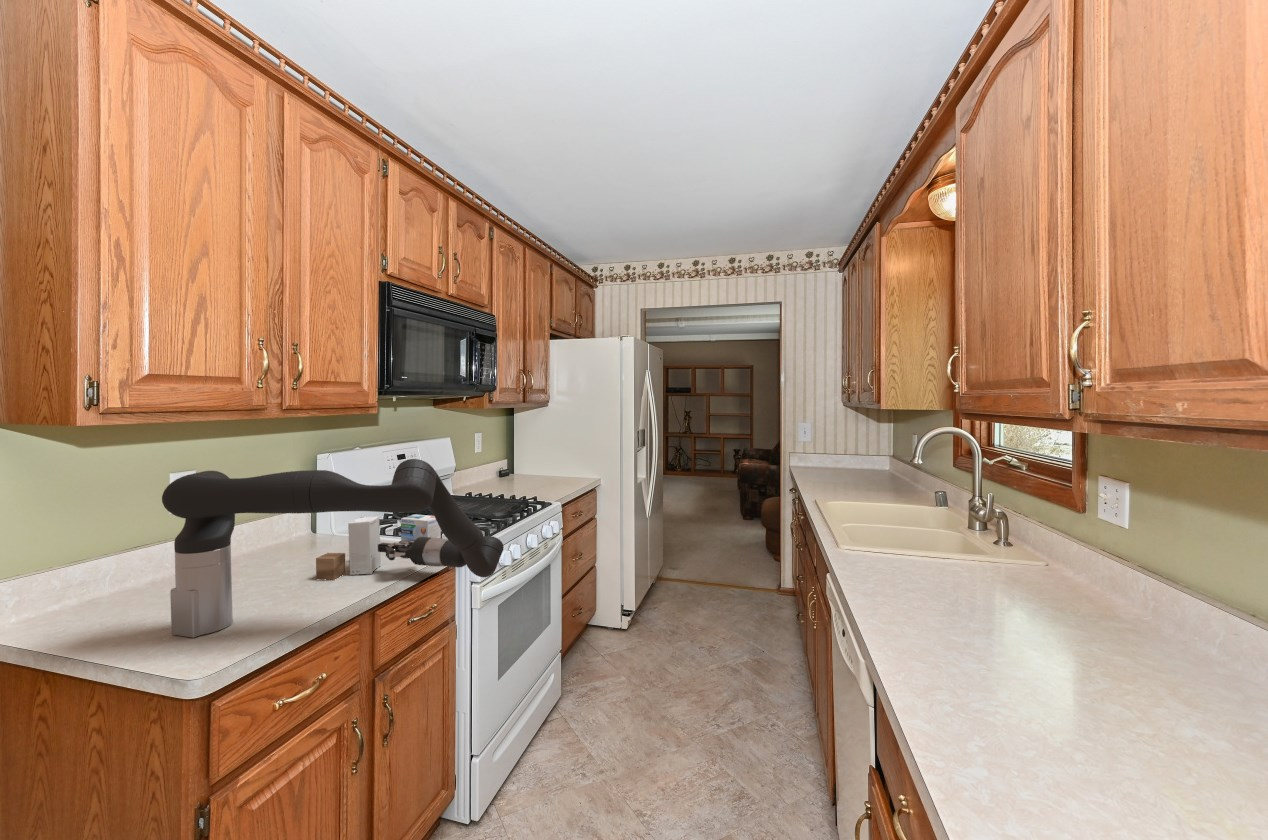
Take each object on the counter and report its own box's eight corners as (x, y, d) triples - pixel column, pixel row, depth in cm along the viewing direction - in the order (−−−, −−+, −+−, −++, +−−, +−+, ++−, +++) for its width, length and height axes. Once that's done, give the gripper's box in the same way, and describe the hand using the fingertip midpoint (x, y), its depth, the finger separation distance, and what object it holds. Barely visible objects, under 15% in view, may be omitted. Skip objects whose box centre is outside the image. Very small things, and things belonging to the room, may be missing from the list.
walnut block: (334, 580, 141) (333, 558, 140) (316, 580, 141) (315, 558, 141) (345, 574, 146) (345, 553, 145) (328, 574, 146) (327, 552, 146)
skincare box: (371, 574, 145) (370, 521, 145) (348, 575, 144) (347, 522, 144) (381, 565, 153) (380, 515, 153) (359, 566, 153) (358, 515, 152)
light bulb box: (400, 551, 168) (399, 518, 168) (414, 545, 174) (414, 513, 174) (428, 554, 165) (427, 520, 164) (441, 548, 171) (441, 516, 171)
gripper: (447, 532, 149) (395, 528, 154) (416, 544, 137) (361, 540, 141) (447, 558, 150) (395, 553, 154) (417, 572, 137) (362, 567, 141)
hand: (379, 547), depth 147 cm, fingers closed
